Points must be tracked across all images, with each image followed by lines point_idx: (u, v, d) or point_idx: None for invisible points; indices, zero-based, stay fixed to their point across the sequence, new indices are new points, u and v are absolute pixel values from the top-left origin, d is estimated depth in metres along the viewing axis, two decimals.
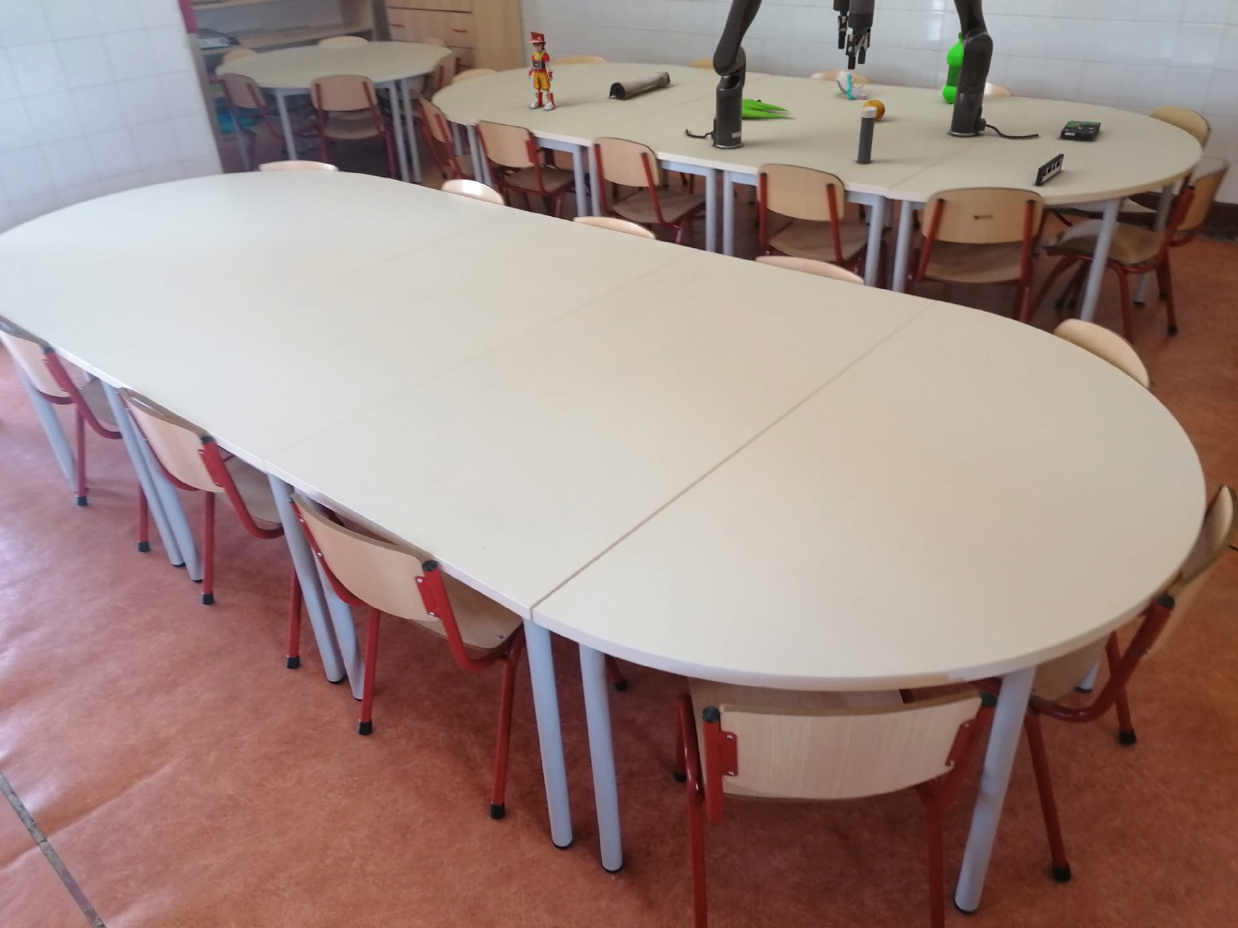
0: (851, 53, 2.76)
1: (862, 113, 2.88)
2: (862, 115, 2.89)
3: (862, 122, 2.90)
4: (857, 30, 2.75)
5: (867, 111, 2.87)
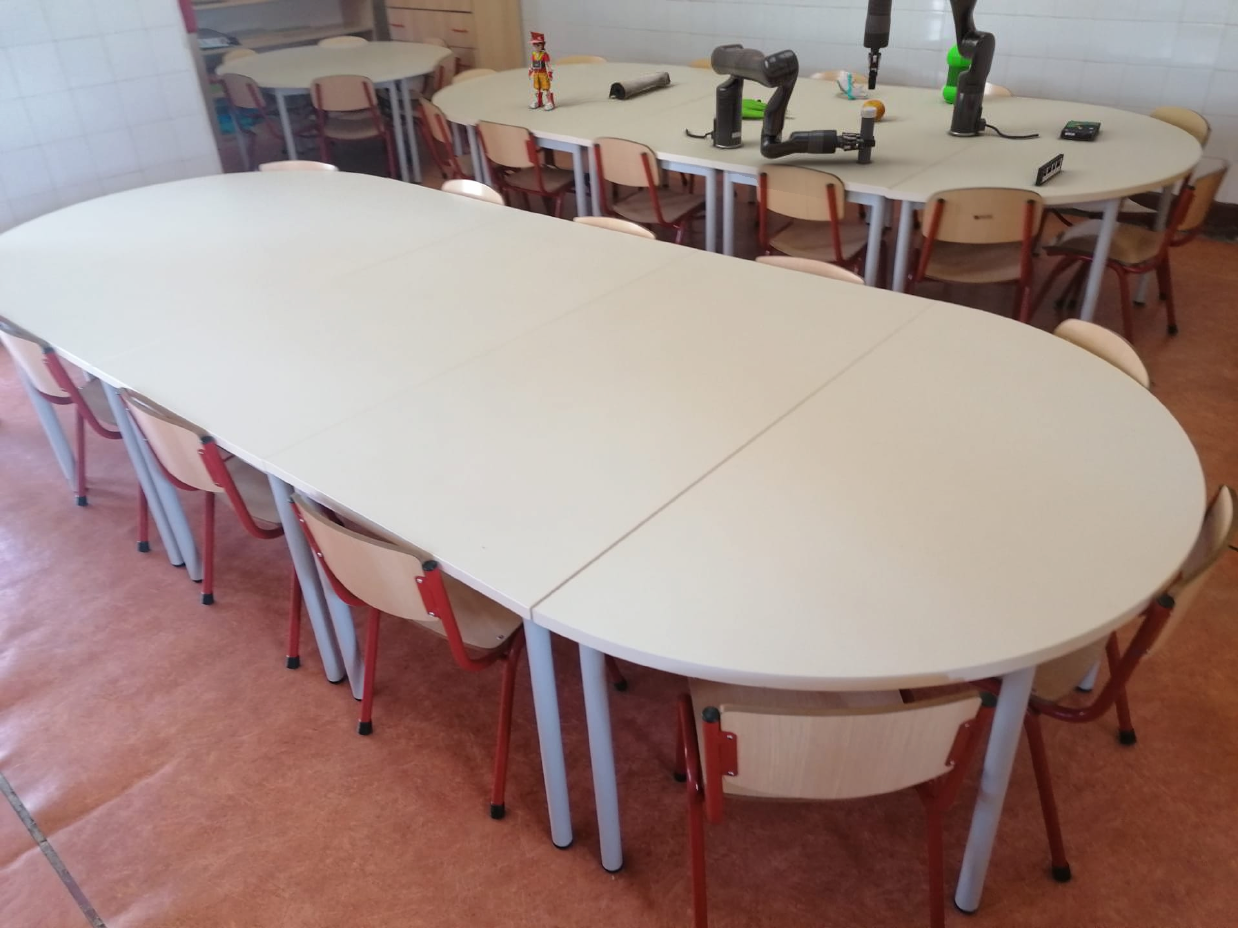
0: None
1: (862, 113, 2.88)
2: (862, 115, 2.89)
3: (862, 122, 2.90)
4: None
5: (867, 111, 2.87)
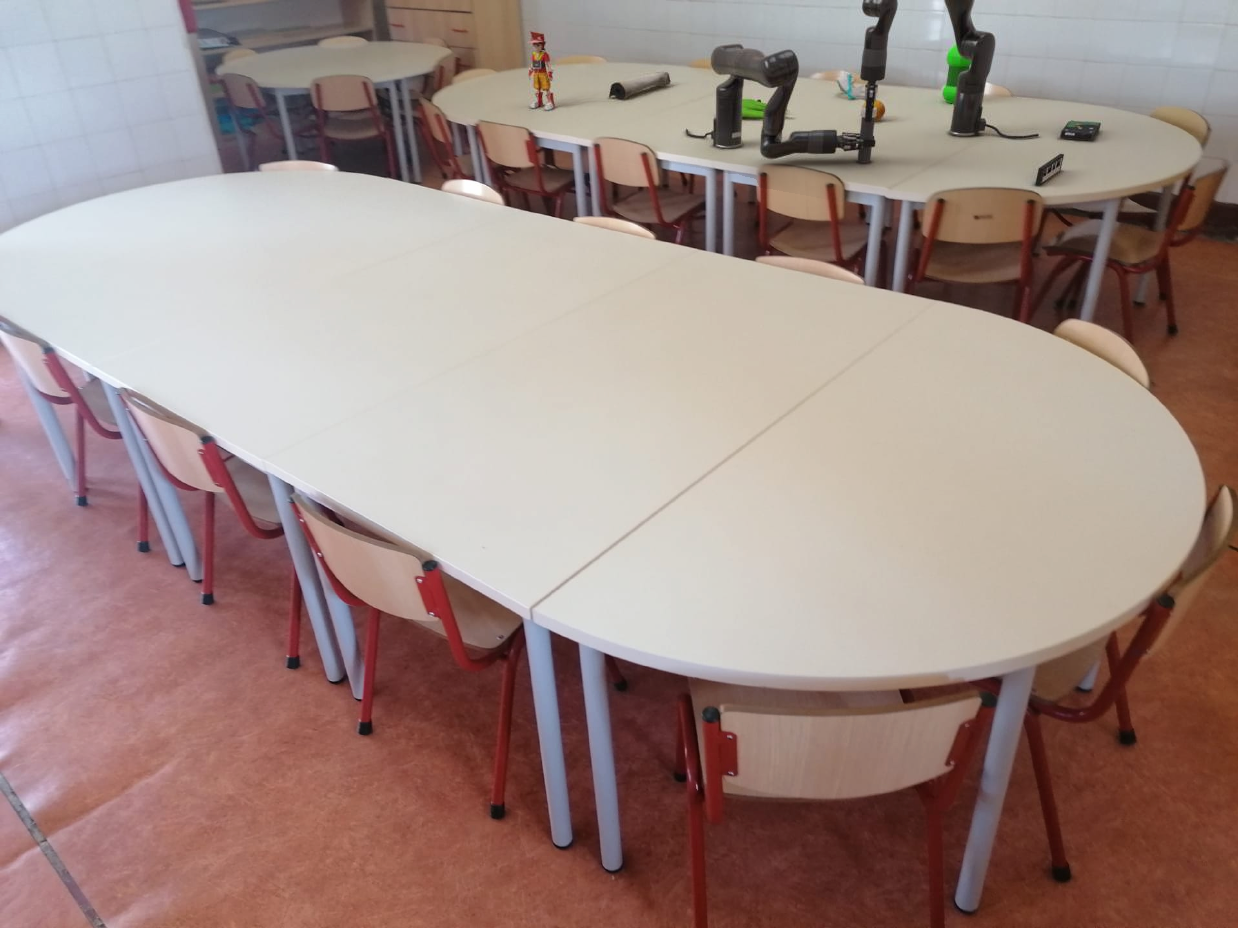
0: None
1: (862, 113, 2.88)
2: (862, 115, 2.89)
3: (862, 122, 2.90)
4: None
5: None
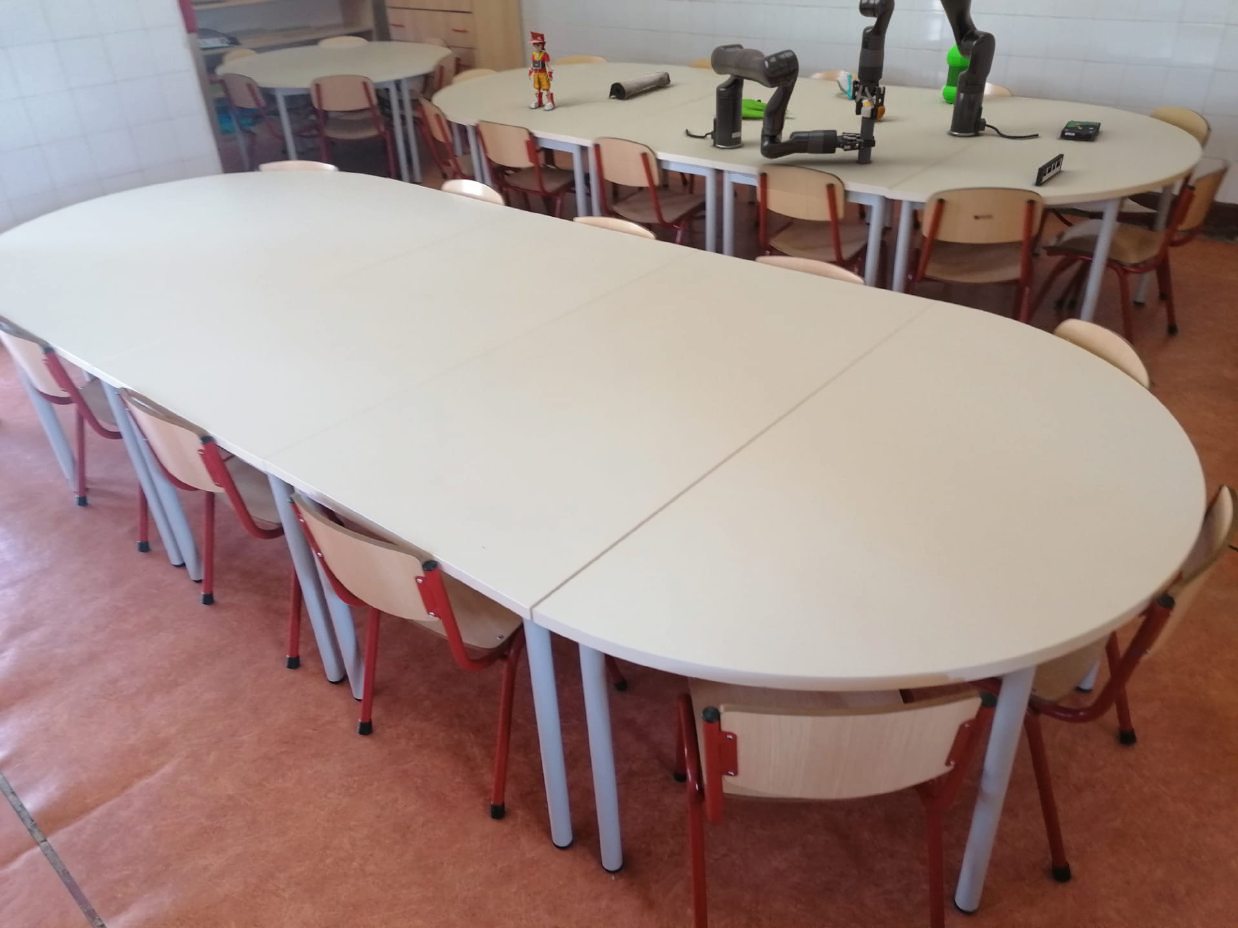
0: None
1: None
2: None
3: (862, 122, 2.90)
4: None
5: None
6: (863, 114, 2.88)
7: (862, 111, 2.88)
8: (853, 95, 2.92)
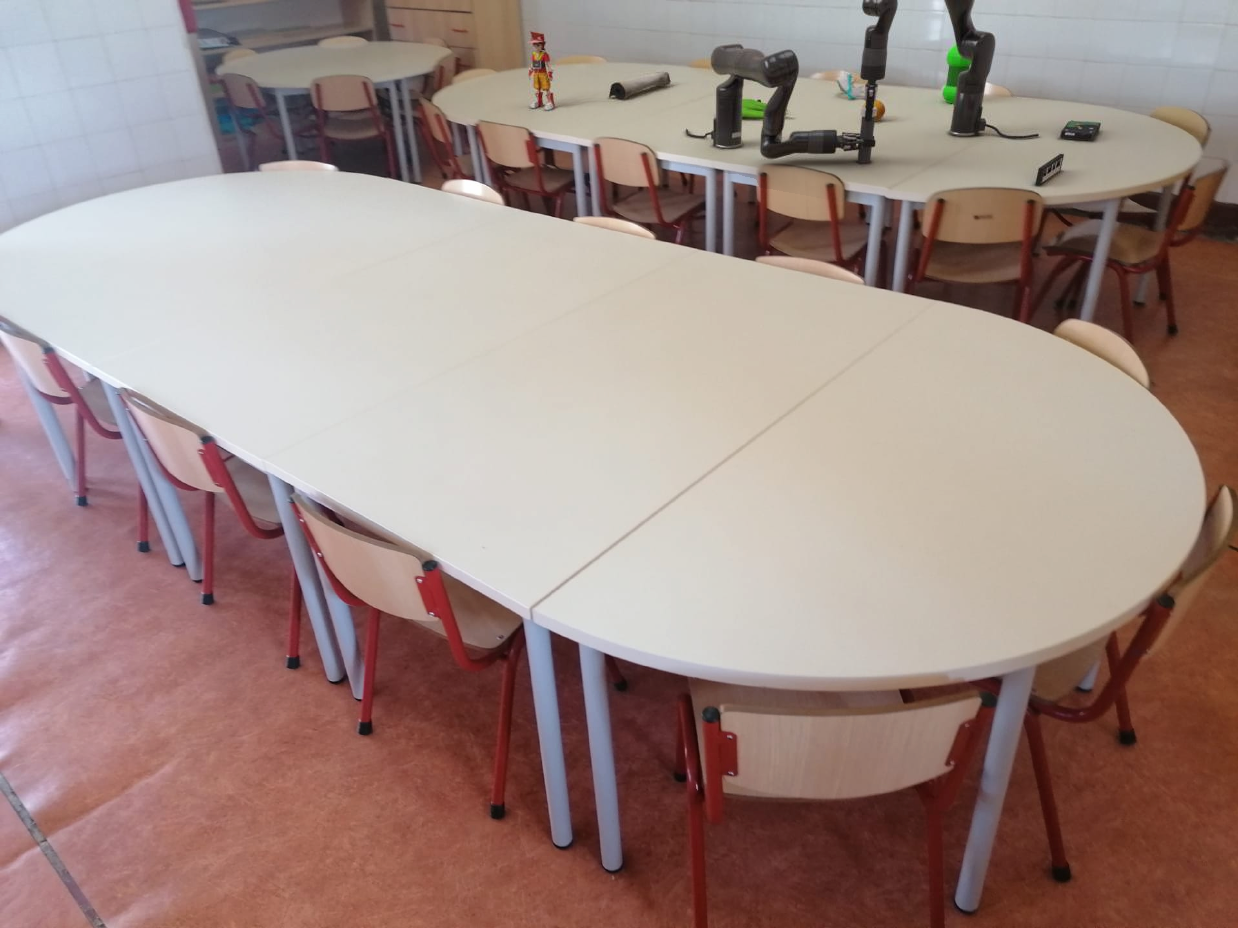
0: None
1: (872, 113, 2.87)
2: (872, 115, 2.87)
3: (862, 122, 2.90)
4: None
5: (876, 109, 2.87)
6: (863, 114, 2.88)
7: (862, 111, 2.88)
8: None
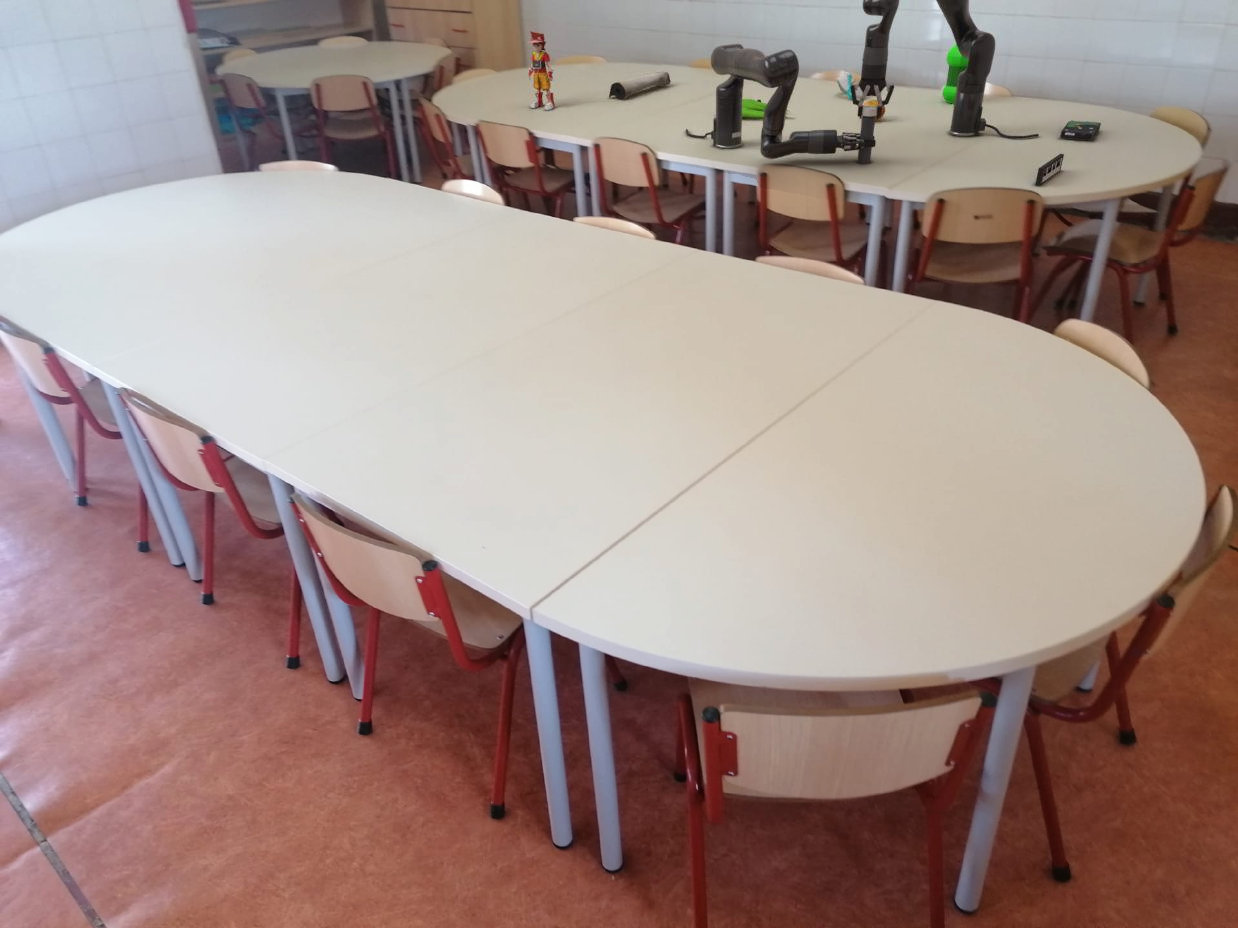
0: None
1: None
2: None
3: (862, 122, 2.90)
4: None
5: None
6: (874, 113, 2.87)
7: (873, 111, 2.86)
8: (854, 100, 2.87)
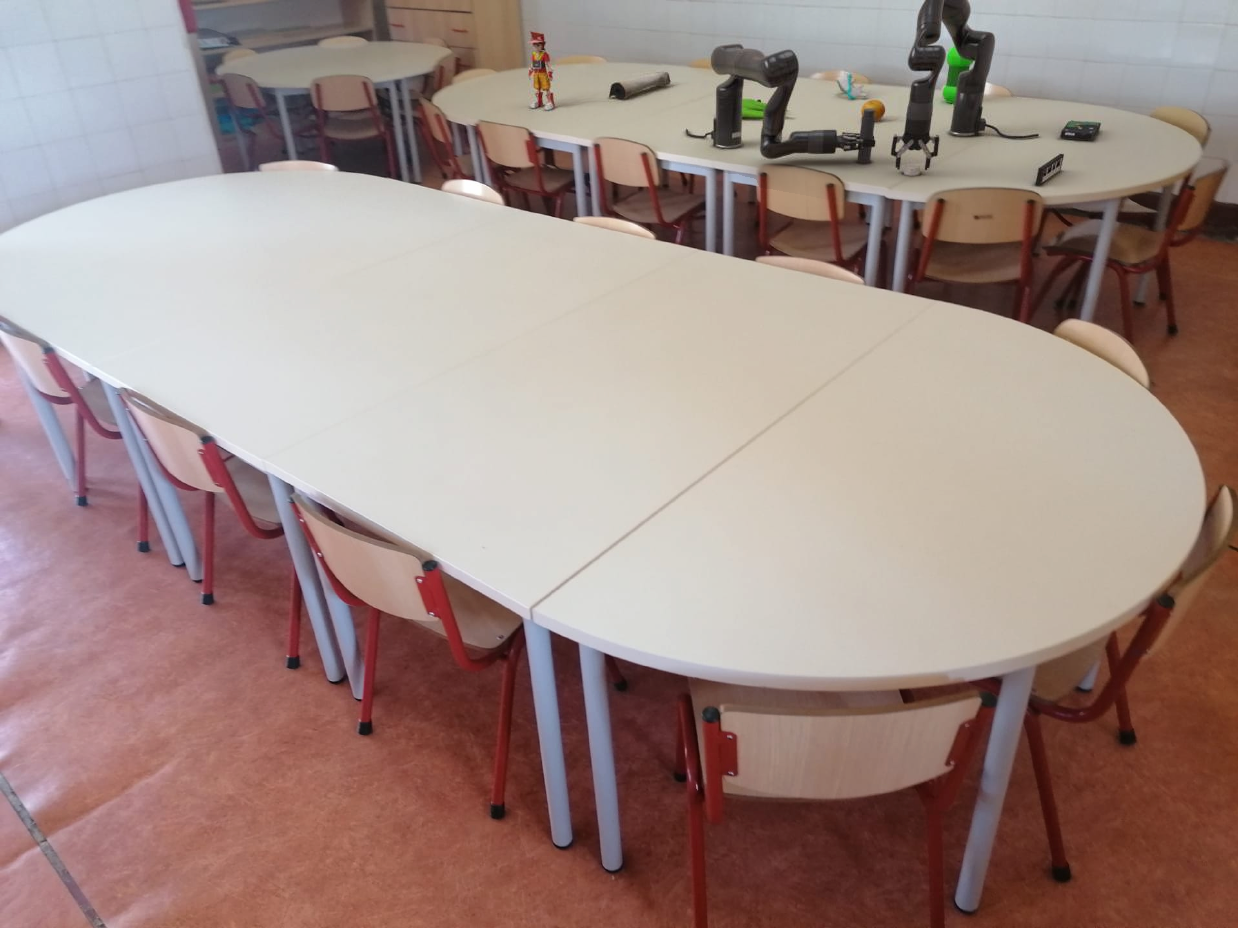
0: None
1: None
2: None
3: (862, 122, 2.90)
4: None
5: None
6: (917, 172, 2.83)
7: (915, 170, 2.83)
8: (893, 151, 2.82)
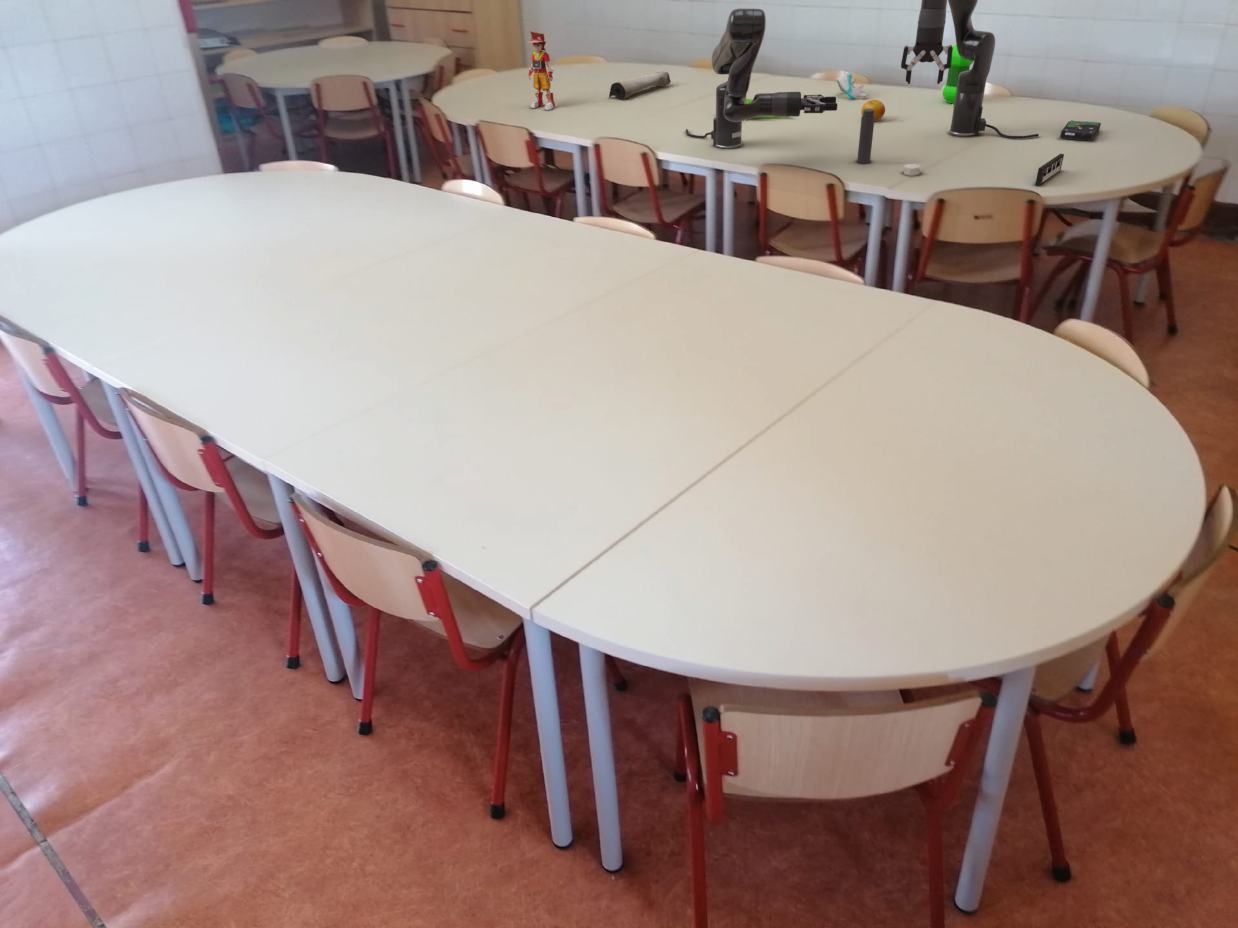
0: None
1: None
2: None
3: (862, 122, 2.90)
4: None
5: None
6: (917, 172, 2.83)
7: (915, 170, 2.83)
8: (904, 63, 2.67)
